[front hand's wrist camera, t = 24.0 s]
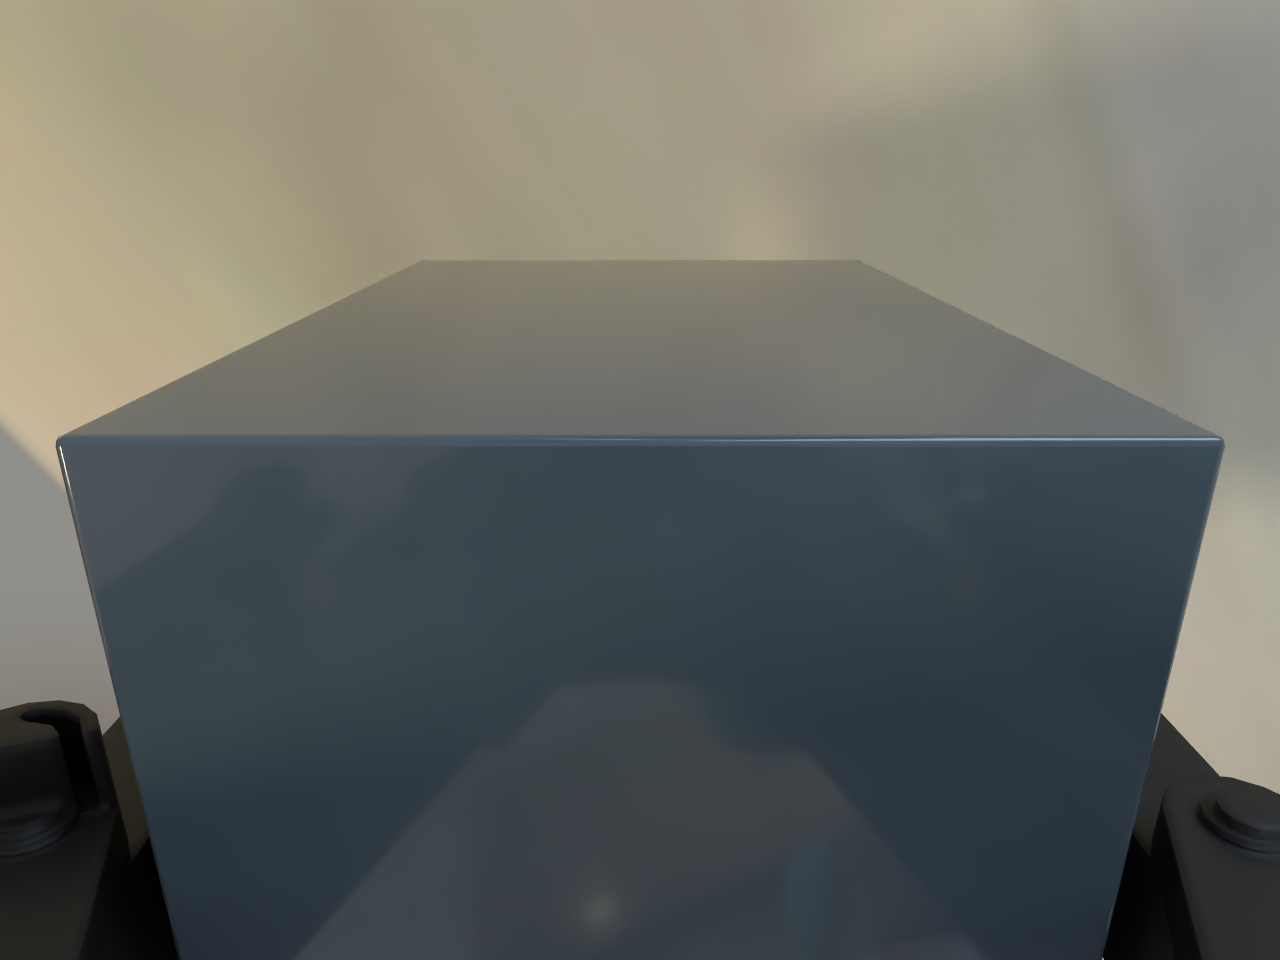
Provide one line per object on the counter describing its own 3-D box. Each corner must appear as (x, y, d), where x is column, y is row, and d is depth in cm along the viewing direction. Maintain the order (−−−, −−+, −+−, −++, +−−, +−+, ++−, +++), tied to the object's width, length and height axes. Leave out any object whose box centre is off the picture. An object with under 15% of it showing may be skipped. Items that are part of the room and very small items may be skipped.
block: (460, 745, 17) (271, 1360, 8) (419, 260, 14) (48, 436, 5) (820, 745, 17) (1008, 1361, 8) (861, 259, 14) (1231, 437, 5)
